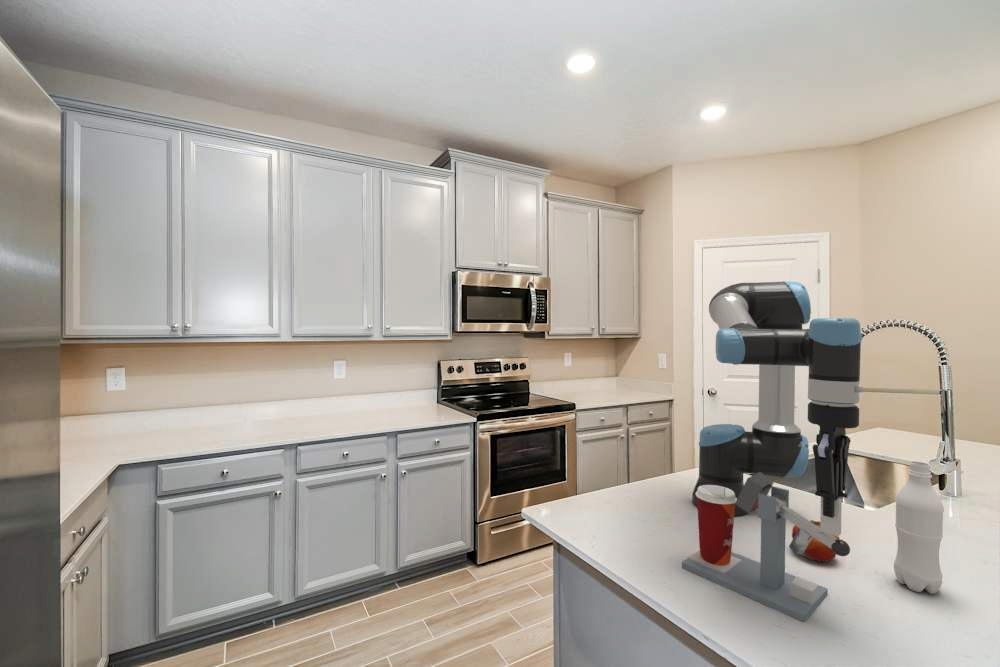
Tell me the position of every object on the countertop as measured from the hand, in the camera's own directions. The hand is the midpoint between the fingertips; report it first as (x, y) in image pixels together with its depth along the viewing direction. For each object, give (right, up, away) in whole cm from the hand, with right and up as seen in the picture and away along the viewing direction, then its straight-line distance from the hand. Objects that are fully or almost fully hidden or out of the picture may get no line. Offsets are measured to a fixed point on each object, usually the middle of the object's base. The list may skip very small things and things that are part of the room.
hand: (830, 532), depth 82 cm
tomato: (+12, -15, +21) cm, 28 cm away
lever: (-5, -4, +6) cm, 9 cm away
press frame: (-8, -15, +11) cm, 20 cm away
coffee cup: (-13, -13, +17) cm, 25 cm away
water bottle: (+24, -15, +9) cm, 30 cm away
